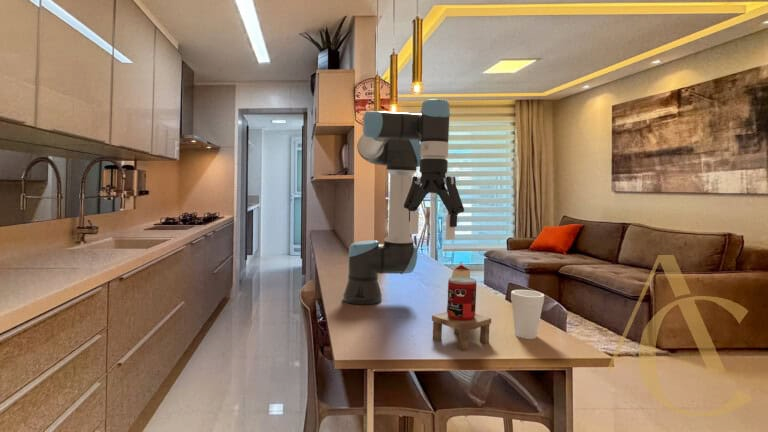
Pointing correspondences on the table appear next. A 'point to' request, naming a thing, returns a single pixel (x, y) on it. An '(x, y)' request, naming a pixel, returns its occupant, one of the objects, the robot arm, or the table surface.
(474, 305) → the canned food
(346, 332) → the table surface
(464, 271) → the milk carton
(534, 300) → the foam cup
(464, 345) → the stool
